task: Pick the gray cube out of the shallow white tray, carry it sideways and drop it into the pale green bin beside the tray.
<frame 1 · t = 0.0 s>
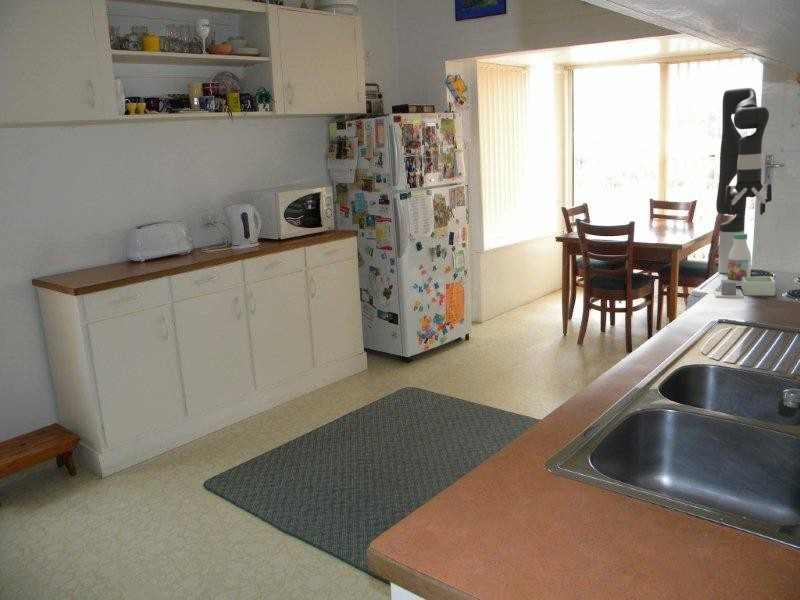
hand: (747, 214, 241), 29 cm above the table, tool pointing down, fingers open, 8 cm apart
green bin: (757, 293, 250), on the table
gray cube: (728, 294, 251), resting on white tray
milk bottle: (738, 286, 263), on the table
white tray: (728, 295, 251), on the table
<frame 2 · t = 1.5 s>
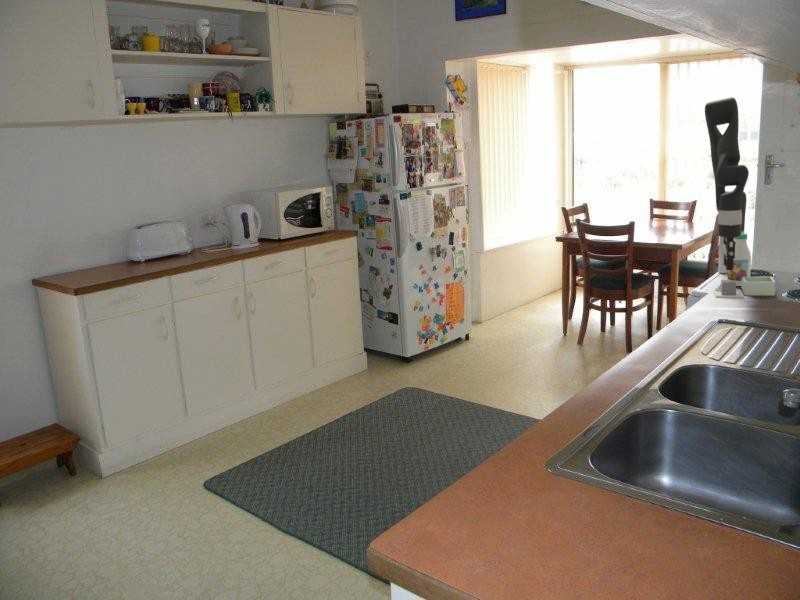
hand: (728, 267, 248), 10 cm above the table, tool pointing down, fingers open, 8 cm apart
nothing on the table moved.
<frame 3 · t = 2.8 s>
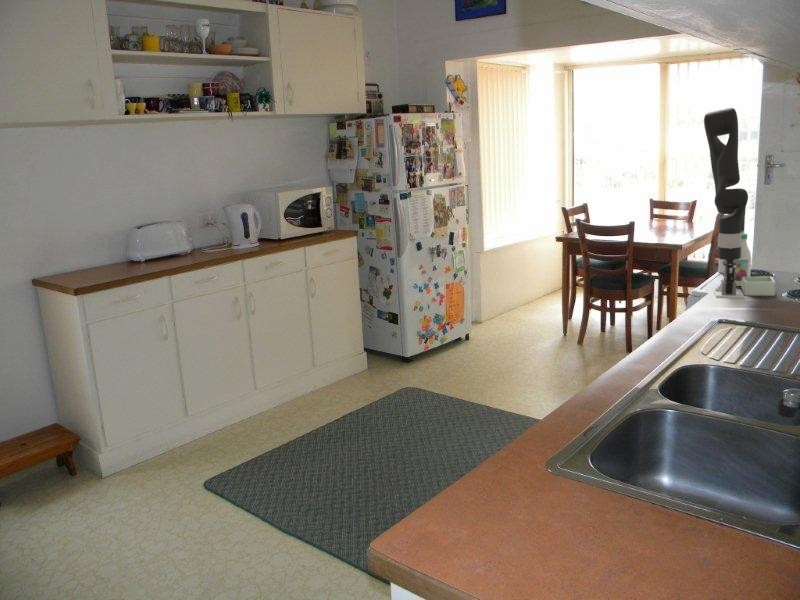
hand: (728, 291, 250), 1 cm above the table, tool pointing down, fingers closed on gray cube, 4 cm apart
gray cube: (728, 294, 251), point 1 cm above the table, touching gripper, white tray
everything else where it was.
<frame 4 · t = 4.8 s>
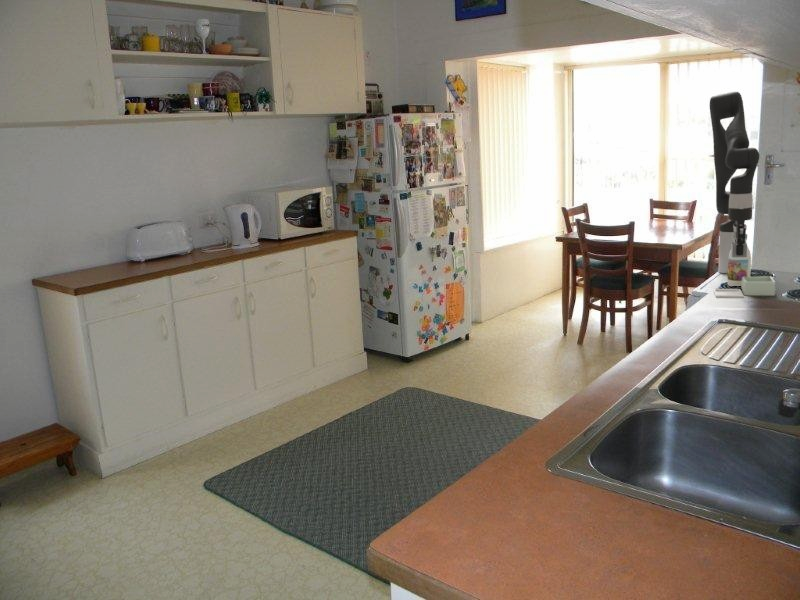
hand: (738, 253, 248), 15 cm above the table, tool pointing down, fingers closed on gray cube, 4 cm apart
gray cube: (738, 256, 248), point 14 cm above the table, touching gripper
everything else where it was.
when the fingers open (7 cm above the table, at t = 7.0 s): gray cube drops 6 cm, resting on green bin.
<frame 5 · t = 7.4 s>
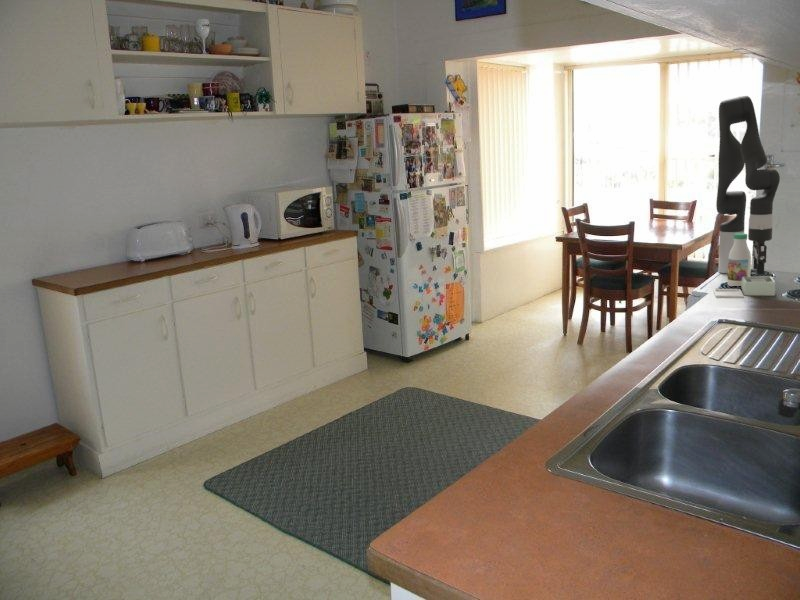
hand: (758, 271, 248), 8 cm above the table, tool pointing down, fingers open, 8 cm apart
gray cube: (757, 292, 250), resting on green bin
everything else where it was.
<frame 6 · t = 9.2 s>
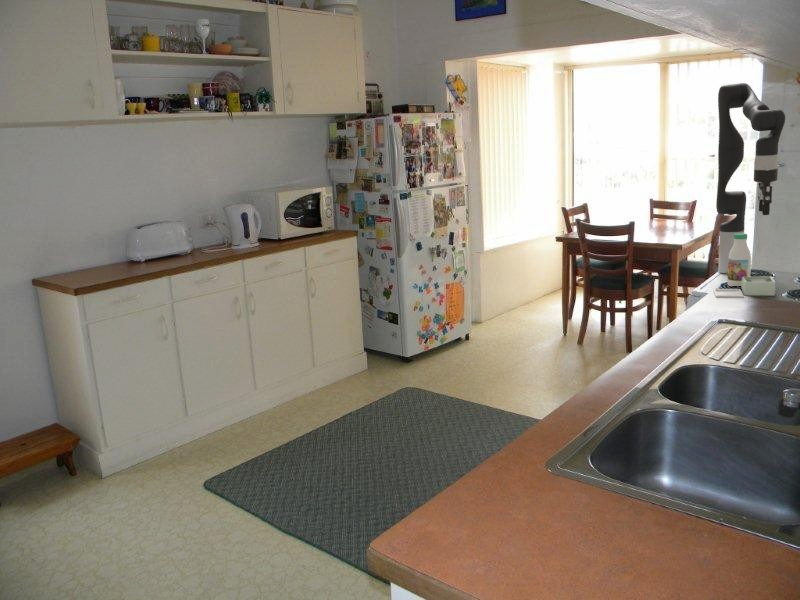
hand: (763, 213, 251), 28 cm above the table, tool pointing down, fingers open, 8 cm apart
nothing on the table moved.
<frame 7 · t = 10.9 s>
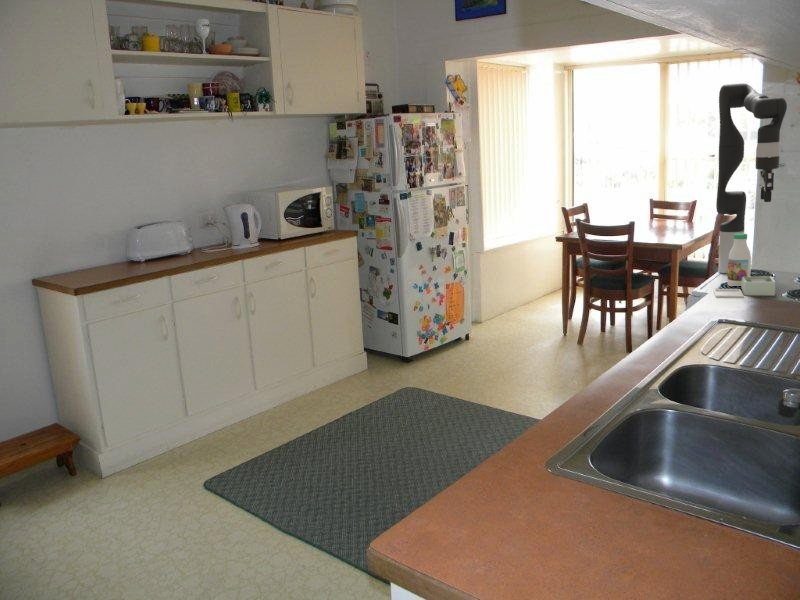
hand: (765, 200, 253), 32 cm above the table, tool pointing down, fingers open, 8 cm apart
nothing on the table moved.
at the end: gray cube inside the target area on the green bin (0.0 cm from its centre), point 0.3 cm above the green bin's base; the gripper is holding nothing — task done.
